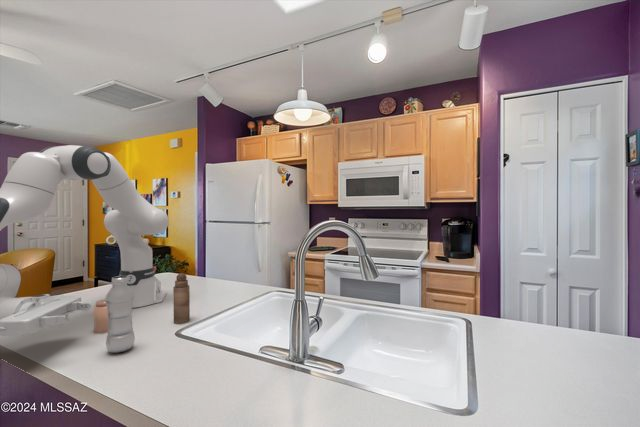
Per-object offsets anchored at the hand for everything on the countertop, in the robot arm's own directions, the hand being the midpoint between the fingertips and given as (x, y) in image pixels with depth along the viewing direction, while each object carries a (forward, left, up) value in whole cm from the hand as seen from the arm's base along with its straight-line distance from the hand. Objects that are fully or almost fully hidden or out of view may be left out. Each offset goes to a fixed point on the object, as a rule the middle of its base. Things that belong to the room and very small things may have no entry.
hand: (78, 312), depth 80 cm
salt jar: (-16, -2, -11) cm, 19 cm away
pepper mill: (-20, +20, -11) cm, 30 cm away
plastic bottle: (0, +10, -11) cm, 15 cm away
